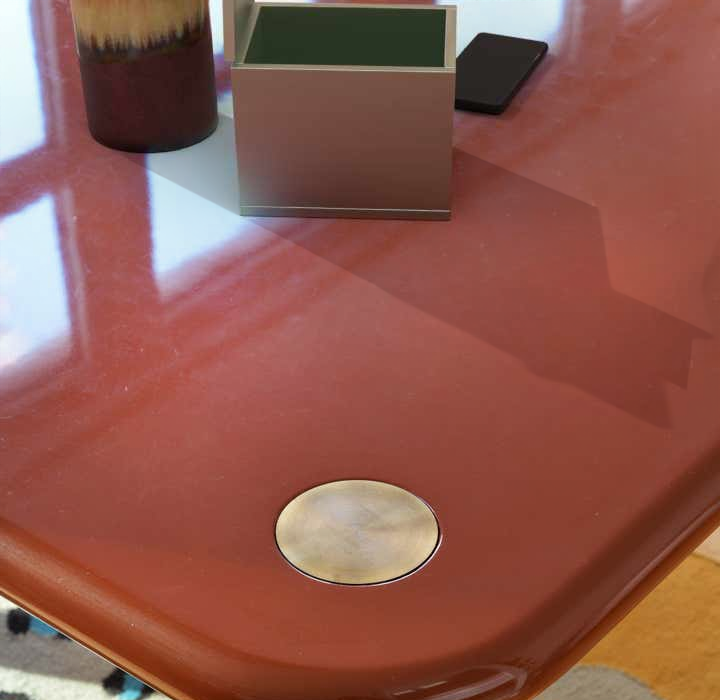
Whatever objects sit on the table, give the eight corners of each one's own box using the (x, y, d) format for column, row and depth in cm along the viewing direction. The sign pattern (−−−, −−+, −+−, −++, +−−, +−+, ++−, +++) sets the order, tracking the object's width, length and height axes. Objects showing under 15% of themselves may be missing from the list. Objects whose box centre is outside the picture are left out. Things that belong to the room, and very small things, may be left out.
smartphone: (550, 42, 124) (501, 106, 114) (549, 51, 125) (500, 116, 114) (478, 30, 126) (423, 93, 115) (478, 39, 126) (423, 102, 116)
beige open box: (451, 145, 110) (456, 4, 103) (449, 220, 101) (455, 71, 93) (259, 141, 111) (251, 1, 104) (240, 215, 102) (230, 67, 94)
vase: (68, 145, 111) (26, -123, 97) (116, 92, 118) (84, -163, 105) (194, 159, 109) (169, -113, 95) (235, 104, 116) (217, -155, 103)
